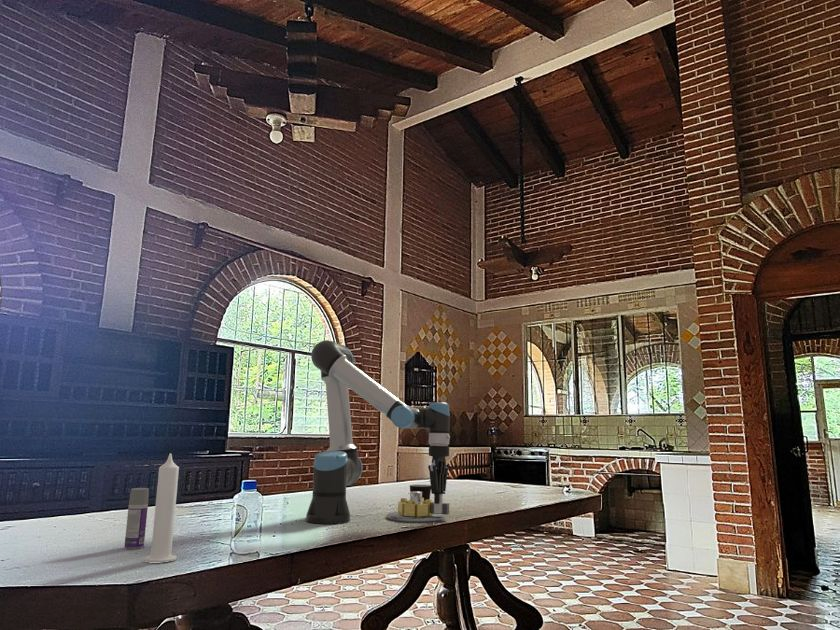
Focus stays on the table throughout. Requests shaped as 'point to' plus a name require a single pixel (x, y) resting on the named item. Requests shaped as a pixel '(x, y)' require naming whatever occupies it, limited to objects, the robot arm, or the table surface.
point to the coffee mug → (422, 490)
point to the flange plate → (420, 519)
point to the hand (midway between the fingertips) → (438, 513)
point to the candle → (164, 513)
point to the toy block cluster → (419, 508)
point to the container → (136, 518)
